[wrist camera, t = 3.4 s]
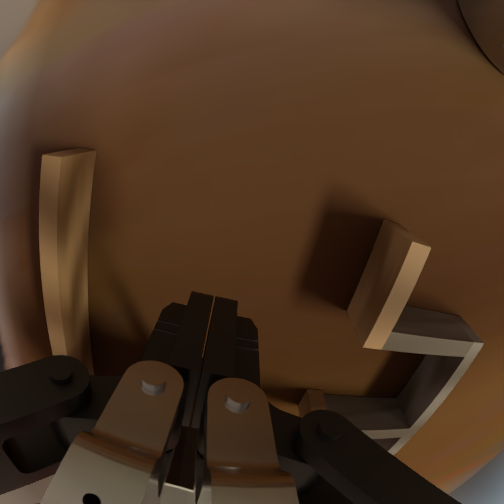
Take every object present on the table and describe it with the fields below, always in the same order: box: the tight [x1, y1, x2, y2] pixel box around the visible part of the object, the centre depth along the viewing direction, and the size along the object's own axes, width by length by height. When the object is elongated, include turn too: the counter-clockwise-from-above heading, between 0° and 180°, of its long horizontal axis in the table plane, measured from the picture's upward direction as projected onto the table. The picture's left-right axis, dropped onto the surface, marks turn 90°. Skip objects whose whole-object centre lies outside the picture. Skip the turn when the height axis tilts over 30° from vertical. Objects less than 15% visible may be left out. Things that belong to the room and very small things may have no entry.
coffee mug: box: [160, 358, 203, 504], centre depth 15 cm, size 12×9×10 cm
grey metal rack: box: [39, 148, 484, 455], centre depth 19 cm, size 30×27×4 cm
